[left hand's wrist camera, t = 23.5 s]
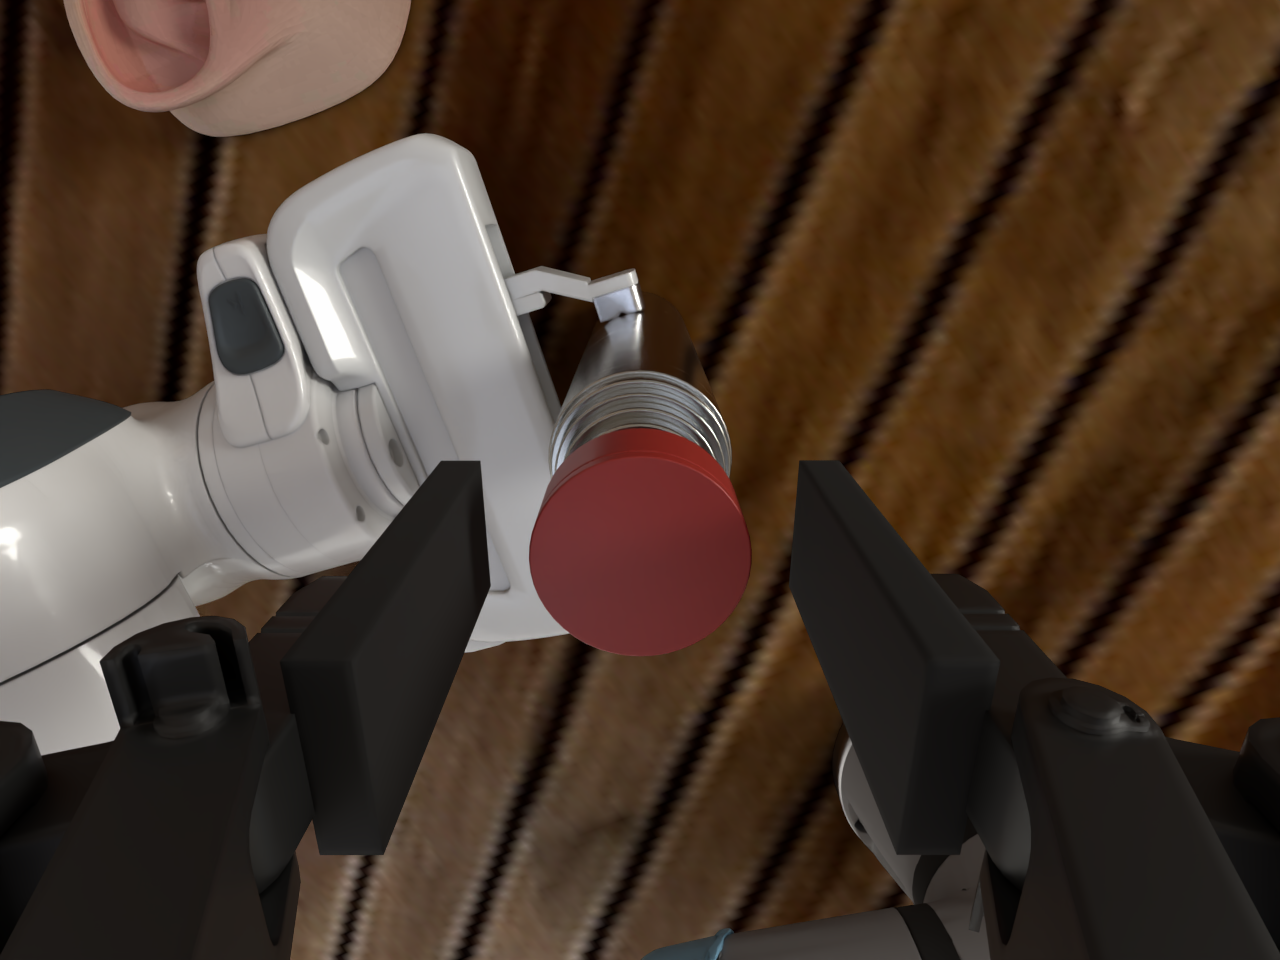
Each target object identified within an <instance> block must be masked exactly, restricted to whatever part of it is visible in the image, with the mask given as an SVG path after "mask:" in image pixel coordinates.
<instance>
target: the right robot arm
mask: <svg viewBox="0 0 1280 960" xmlns="http://www.w3.org/2000/svg"><path fill="white" fill-rule="evenodd" d="M197 280H198V286H199V292H200V297H201V302H202V307H203V312H204V317H205V323H206V328H207V334H208V340H209V345H210V352H211V358H212V365H213V373H214V381H212V382H211V383H209V384H208V385H206V386H205V387H204V388H202V389H201V390H199V391H198V392H197V393H195V394H194V395H192V396H190V397H189V398H186V399H184V400H180V401H175V402H148V403H139V404H135V405H131V406H127V407H124V408H121V407H118V406H116V405H113V404H110V403H107V402H103V401H99V400H96V399H91V398H87V397H82V396H78V395H73V394H69V393H64V392H60V391H55V390H30V391H21V392H15V393H10V394H5V395H0V721H8V722H19V723H22V724H23V725H25V726H26V727H27V728H29V729H30V730H32V732H33V734H34V737H35V740H36V743H37V745H38V748H39V751H40V753H41V755H46V754H51V753H56V752H61V751H66V750H71V749H76V748H81V747H86V746H91V745H96V744H101V743H105V742H110V741H113V740H115V738H116V736H117V734H118V732H119V730H120V726H119V723H118V720H117V716H116V713H115V710H114V707H113V704H112V700H111V697H110V694H109V691H108V688H107V684H106V681H105V678H104V675H103V672H102V668H101V665H100V662H99V661H100V660H101V659H102V658H103V657H104V656H105V655H106V654H107V653H108V652H109V651H110V650H111V649H112V648H113V647H114V646H116V645H118V644H120V643H121V642H123V641H125V640H126V639H128V638H130V637H132V636H133V635H135V634H137V633H139V632H142V631H145V630H147V629H150V628H153V627H155V626H158V625H160V624H163V623H167V622H172V621H176V620H181V619H185V618H190V617H200V615H199V613H198V611H197V609H196V607H195V606H198V605H202V604H206V603H209V602H212V601H214V600H217V599H220V598H222V597H224V596H226V595H228V594H229V593H231V592H233V591H234V590H236V589H237V588H239V587H240V586H242V585H243V584H245V583H248V582H250V581H254V580H259V579H271V580H286V579H293V578H298V577H302V576H306V575H309V574H313V573H317V572H320V571H323V570H327V569H331V568H334V567H338V566H341V565H345V564H348V563H352V562H356V561H360V560H362V558H363V557H364V556H365V555H366V553H367V552H368V551H369V550H370V548H371V547H372V546H373V545H374V543H375V542H376V541H377V540H378V538H379V537H380V536H381V535H382V533H383V532H384V531H385V530H386V528H387V527H388V526H389V525H390V523H391V522H392V521H393V520H394V518H395V517H396V516H397V515H398V514H399V512H400V511H401V510H402V509H403V507H404V506H405V505H406V504H407V502H408V501H409V500H410V499H411V497H412V496H413V495H414V494H415V492H416V491H417V490H418V489H419V487H420V486H421V485H422V484H423V482H424V481H425V480H426V479H427V477H428V476H429V475H430V474H431V472H432V471H433V470H434V469H435V467H436V466H437V465H438V464H439V463H440V461H481V473H482V485H483V497H484V509H485V521H486V534H487V546H488V558H489V570H490V582H491V587H490V589H489V592H488V594H487V597H486V599H485V602H484V604H483V607H482V609H481V612H480V614H479V617H478V619H477V622H476V624H475V627H474V629H473V632H472V634H471V637H470V639H469V642H468V644H467V647H466V649H465V652H474V651H478V650H481V649H485V648H489V647H493V646H497V645H500V644H502V643H504V642H508V641H519V640H529V639H537V638H544V637H551V636H558V635H564V634H569V632H567V631H566V630H565V629H563V628H562V627H561V626H560V625H559V624H558V623H557V622H556V621H555V620H554V619H553V617H552V616H551V615H550V614H549V612H548V611H547V610H546V608H545V607H544V605H543V603H542V602H541V600H540V598H539V597H538V594H537V592H536V589H535V587H534V584H533V581H532V577H531V573H530V565H529V545H530V539H531V534H532V531H533V528H534V525H535V522H536V519H537V516H538V513H539V510H540V507H541V504H542V501H543V498H544V495H545V492H546V489H547V486H548V484H549V482H550V480H551V477H550V470H549V461H548V457H549V444H550V438H551V435H552V431H553V428H554V425H555V423H556V420H557V418H558V415H559V413H560V410H561V408H562V407H561V405H560V402H559V399H558V396H557V393H556V390H555V387H554V384H553V382H552V379H551V376H550V373H549V370H548V367H547V364H546V361H545V359H544V356H543V353H542V350H541V347H540V344H539V341H538V338H537V335H536V333H535V330H534V327H533V324H532V321H531V318H530V315H529V312H531V311H534V310H537V309H541V308H544V307H545V306H546V305H547V303H548V302H549V301H550V300H551V298H552V297H551V294H550V293H554V294H558V295H563V296H567V297H572V298H576V299H580V300H585V301H589V302H593V301H594V304H595V307H596V310H597V313H598V316H599V319H600V322H605V321H608V320H611V319H614V318H616V317H618V316H619V315H620V313H621V312H623V313H626V314H630V313H634V312H637V311H640V310H642V309H644V308H645V303H644V299H643V296H642V292H641V288H640V285H639V281H638V278H637V274H636V271H635V268H633V269H628V270H624V271H621V272H618V273H615V274H612V275H608V276H605V277H602V278H599V279H596V280H592V281H591V279H590V278H589V277H585V276H581V275H577V274H573V273H569V272H565V271H561V270H556V269H552V268H548V267H544V266H540V267H537V268H533V269H530V270H527V271H524V272H521V273H518V274H515V272H514V269H513V266H512V263H511V261H510V258H509V255H508V252H507V249H506V246H505V243H504V240H503V238H502V235H501V232H500V229H499V226H498V223H497V220H496V217H495V215H494V212H493V209H492V206H491V203H490V200H489V197H488V194H487V191H486V189H485V186H484V183H483V180H482V177H481V174H480V171H479V168H478V166H477V163H476V160H475V158H474V156H473V155H472V154H471V152H470V151H468V150H467V149H465V148H463V147H462V146H460V145H458V144H456V143H455V142H453V141H451V140H449V139H447V138H445V137H442V136H439V135H435V134H427V133H425V134H417V135H413V136H410V137H407V138H404V139H401V140H398V141H395V142H392V143H390V144H388V145H385V146H383V147H380V148H378V149H375V150H373V151H371V152H369V153H366V154H364V155H362V156H360V157H357V158H355V159H353V160H351V161H349V162H347V163H345V164H343V165H341V166H339V167H337V168H335V169H333V170H331V171H330V172H328V173H326V174H324V175H322V176H320V177H319V178H317V179H315V180H313V181H312V182H310V183H308V184H307V185H305V186H303V187H302V188H300V189H299V190H297V191H296V192H294V193H293V194H292V195H291V196H289V197H288V198H287V199H286V200H285V201H284V202H283V203H282V204H281V205H280V206H279V208H278V209H277V210H276V212H275V213H274V215H273V217H272V219H271V222H270V224H269V227H268V232H267V234H260V235H253V236H248V237H244V238H239V239H236V240H232V241H229V242H226V243H223V244H220V245H218V246H215V247H213V248H210V249H208V250H207V251H205V252H204V253H202V255H201V256H200V257H199V259H198V263H197Z"/></svg>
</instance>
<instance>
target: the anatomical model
mask: <svg viewBox="0 0 1280 960" xmlns="http://www.w3.org/2000/svg"><path fill="white" fill-rule="evenodd" d="M64 5H65V9H66V13H67V18H68V21H69V24H70V27H71V29H72V32H73V35H74V37H75V40H76V42H77V45H78V47H79V49H80V51H81V53H82V55H83V57H84V59H85V60H86V62H87V64H88V66H89V68H90V69H91V71H92V72H93V74H94V75H95V77H96V78H97V80H98V81H99V82H100V84H101V85H102V86H103V87H104V88H105V90H106V91H107V92H108V93H109V94H110V95H111V96H113V97H114V98H115V99H116V100H118V101H119V102H121V103H122V104H124V105H126V106H128V107H131V108H133V109H136V110H140V111H144V112H165V111H170V112H171V113H172V114H173V115H174V116H175V117H176V118H177V119H178V120H179V121H181V122H182V123H183V124H184V125H186V126H187V127H188V128H190V129H192V130H194V131H196V132H198V133H201V134H205V135H208V136H215V137H228V136H236V135H244V134H250V133H254V132H258V131H262V130H266V129H270V128H274V127H278V126H281V125H284V124H287V123H290V122H293V121H296V120H299V119H302V118H305V117H307V116H310V115H313V114H315V113H318V112H320V111H323V110H325V109H328V108H330V107H332V106H334V105H337V104H339V103H341V102H343V101H345V100H347V99H349V98H350V97H352V96H354V95H356V94H358V93H360V92H361V91H363V90H364V89H365V88H367V87H368V86H370V85H371V84H372V83H373V82H375V81H376V80H377V79H378V78H379V77H380V76H381V75H382V74H383V73H384V72H385V71H386V69H387V68H388V66H389V65H390V63H391V62H392V61H393V59H394V57H395V55H396V53H397V51H398V49H399V47H400V44H401V41H402V38H403V35H404V32H405V28H406V24H407V19H408V15H409V11H410V5H411V0H64Z"/></svg>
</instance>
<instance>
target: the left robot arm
mask: <svg viewBox="0 0 1280 960" xmlns="http://www.w3.org/2000/svg"><path fill="white" fill-rule="evenodd" d="M490 587H491V582H490V570H489V558H488V546H487V534H486V521H485V509H484V497H483V485H482V473H481V461H440V463H439V464H438V465H437V466H436V467H435V469H434V470H433V471H432V472H431V474H430V475H429V476H428V477H427V479H426V480H425V481H424V482H423V484H422V485H421V486H420V487H419V489H418V490H417V491H416V492H415V494H414V495H413V496H412V497H411V499H410V500H409V501H408V502H407V504H406V505H405V506H404V507H403V509H402V510H401V511H400V512H399V514H398V515H397V516H396V517H395V518H394V520H393V521H392V522H391V523H390V525H389V526H388V527H387V528H386V530H385V531H384V532H383V533H382V535H381V536H380V537H379V538H378V540H377V541H376V542H375V543H374V545H373V546H372V547H371V548H370V550H369V551H368V552H367V553H366V555H365V556H364V557H363V558H362V560H361V561H360V562H359V563H358V564H357V566H356V567H355V568H354V569H353V571H352V572H351V573H350V574H349V576H322V577H320V578H319V579H317V580H315V581H314V582H312V583H310V584H308V585H307V586H305V587H303V588H302V589H300V590H298V591H296V592H295V593H293V594H292V596H291V597H290V598H289V599H288V600H287V601H286V602H285V603H284V604H283V605H282V607H281V608H280V609H279V610H278V611H277V612H276V616H272V617H271V619H270V620H269V621H268V622H267V623H266V624H265V625H264V626H263V627H262V628H261V633H257V634H256V635H255V636H254V637H253V638H252V639H251V641H250V642H248V638H247V633H246V629H245V627H244V626H243V625H242V624H240V623H239V622H237V621H236V620H235V619H230V618H225V617H219V616H204V617H190V618H185V619H181V620H176V621H172V622H167V623H163V624H160V625H158V626H155V627H153V628H150V629H147V630H145V631H142V632H139V633H137V634H135V635H133V636H132V637H130V638H128V639H126V640H125V641H123V642H121V643H120V644H118V645H116V646H114V647H113V648H112V649H111V650H110V651H109V652H108V653H107V654H106V655H105V656H104V657H103V658H102V659H101V660H100V661H99V662H100V665H101V668H102V672H103V675H104V678H105V681H106V684H107V688H108V691H109V694H110V697H111V700H112V704H113V707H114V710H115V713H116V716H117V720H118V723H119V726H120V730H119V732H118V734H117V736H116V738H115V740H113V741H110V742H105V743H101V744H96V745H91V746H86V747H81V748H76V749H71V750H66V751H61V752H56V753H51V754H46V755H41V753H40V751H39V748H38V745H37V743H36V740H35V737H34V734H33V732H32V730H30V729H29V728H27V727H26V726H25V725H23V724H22V723H19V722H8V721H0V960H290V955H291V948H292V941H293V933H294V926H295V919H296V912H297V905H298V898H299V890H300V883H301V881H300V873H299V866H298V861H297V857H296V852H295V850H296V848H297V846H298V844H299V843H300V841H301V839H302V837H303V835H304V833H305V831H306V830H307V828H308V826H309V824H310V822H311V820H312V819H313V824H314V829H315V834H316V838H317V843H318V848H319V853H320V855H384V852H385V850H386V847H387V845H388V842H389V840H390V837H391V835H392V832H393V830H394V827H395V825H396V822H397V820H398V817H399V815H400V812H401V810H402V807H403V805H404V802H405V800H406V797H407V795H408V792H409V790H410V787H411V785H412V782H413V780H414V777H415V775H416V772H417V769H418V767H419V764H420V762H421V759H422V757H423V754H424V752H425V749H426V747H427V744H428V742H429V739H430V737H431V734H432V732H433V729H434V727H435V724H436V722H437V719H438V717H439V714H440V712H441V709H442V707H443V704H444V702H445V699H446V697H447V694H448V692H449V689H450V687H451V684H452V682H453V679H454V677H455V674H456V672H457V669H458V667H459V664H460V662H461V659H462V657H463V654H464V652H465V649H466V647H467V644H468V642H469V639H470V637H471V634H472V632H473V629H474V627H475V624H476V622H477V619H478V617H479V614H480V612H481V609H482V607H483V604H484V602H485V599H486V597H487V594H488V592H489V589H490ZM789 587H790V590H791V592H792V595H793V597H794V600H795V602H796V605H797V607H798V610H799V612H800V615H801V617H802V620H803V622H804V625H805V627H806V630H807V632H808V635H809V637H810V640H811V642H812V645H813V647H814V650H815V652H816V655H817V657H818V660H819V662H820V665H821V667H822V670H823V672H824V675H825V677H826V680H827V682H828V685H829V687H830V690H831V692H832V695H833V697H834V700H835V702H836V705H837V707H838V710H839V712H840V715H841V717H842V720H843V724H842V726H841V728H840V730H839V733H838V736H837V739H836V742H835V746H834V750H833V759H832V771H833V778H834V783H835V786H836V790H837V793H838V796H839V799H840V802H841V805H842V808H843V810H844V813H845V815H846V818H847V820H848V822H849V824H850V825H851V827H852V829H853V830H854V832H855V833H856V834H857V836H858V837H859V838H860V839H861V840H862V841H863V843H864V844H865V845H866V846H867V847H868V848H869V849H870V850H871V851H872V852H873V853H874V854H875V856H876V857H877V859H878V860H879V862H880V863H881V864H882V865H883V867H884V868H885V869H886V870H887V872H888V873H889V874H890V875H891V876H892V877H893V879H894V880H895V881H896V882H897V883H898V885H899V886H900V887H901V888H902V889H903V891H904V892H905V893H906V894H907V895H908V897H909V898H910V899H911V900H912V902H913V904H914V905H909V906H903V907H897V908H896V907H895V908H894V907H893V908H887V909H881V910H875V911H868V912H862V913H856V914H850V915H844V916H838V917H832V918H826V919H820V920H813V921H807V922H801V923H795V924H789V925H783V926H777V927H771V928H765V929H759V930H752V931H746V932H740V933H734V932H733V931H732V930H731V929H730V928H726V929H722V930H719V931H718V932H717V934H716V935H715V936H711V937H707V938H703V939H698V940H694V941H689V942H685V943H680V944H676V945H671V946H667V947H663V948H659V949H656V950H654V951H652V952H651V953H649V954H647V955H646V956H644V957H643V958H642V959H641V960H1280V718H1269V719H1260V720H1259V721H1257V722H1256V723H1255V724H1253V725H1252V726H1250V727H1249V729H1248V732H1247V734H1246V737H1245V740H1244V742H1243V745H1242V748H1241V751H1240V752H1236V751H1231V750H1226V749H1221V748H1216V747H1211V746H1206V745H1201V744H1196V743H1191V742H1186V741H1181V740H1176V739H1172V738H1168V737H1165V736H1164V734H1163V733H1162V731H1161V729H1160V727H1159V726H1158V725H1157V724H1156V722H1155V721H1154V720H1153V719H1152V718H1151V716H1150V715H1149V714H1148V713H1147V712H1146V711H1145V710H1143V709H1142V708H1140V707H1139V706H1138V705H1136V704H1135V703H1133V702H1132V701H1130V700H1129V699H1127V698H1126V697H1124V696H1122V695H1120V694H1117V693H1115V692H1113V691H1111V690H1108V689H1106V688H1104V687H1102V686H1099V685H1095V684H1091V683H1087V682H1084V681H1080V680H1076V679H1067V677H1066V676H1065V675H1064V674H1063V673H1062V672H1061V671H1060V670H1059V669H1058V668H1057V667H1056V665H1055V664H1054V663H1053V662H1052V661H1051V660H1050V659H1049V658H1048V657H1047V656H1046V655H1045V654H1044V652H1043V651H1042V650H1041V649H1040V648H1039V647H1038V646H1037V645H1036V644H1035V643H1034V642H1033V640H1032V639H1031V638H1030V637H1029V636H1028V635H1027V634H1026V633H1025V632H1024V631H1023V630H1020V629H1019V625H1018V624H1017V623H1016V622H1015V621H1014V620H1013V619H1012V618H1011V617H1010V615H1009V614H1005V612H1004V609H1003V608H1002V607H1001V606H1000V605H999V603H998V602H997V601H996V600H995V599H994V598H993V597H992V596H991V595H990V594H989V593H988V591H987V590H985V589H983V588H981V587H980V586H978V585H976V584H974V583H973V582H971V581H969V580H968V579H966V578H964V577H962V576H961V575H959V574H930V573H929V572H928V571H927V569H926V568H925V567H924V566H923V565H922V563H921V562H920V561H919V560H918V558H917V557H916V556H915V555H914V553H913V552H912V551H911V550H910V548H909V547H908V546H907V545H906V543H905V542H904V541H903V540H902V538H901V537H900V536H899V535H898V533H897V532H896V531H895V530H894V528H893V527H892V526H891V525H890V523H889V522H888V521H887V520H886V518H885V517H884V516H883V515H882V514H881V512H880V511H879V510H878V509H877V507H876V506H875V505H874V504H873V502H872V501H871V500H870V499H869V497H868V496H867V495H866V494H865V492H864V491H863V490H862V489H861V487H860V486H859V485H858V484H857V482H856V481H855V480H854V479H853V477H852V476H851V475H850V474H849V472H848V471H847V470H846V469H845V468H844V466H843V465H842V464H841V463H840V461H799V473H798V485H797V497H796V509H795V521H794V533H793V546H792V558H791V570H790V582H789Z"/></svg>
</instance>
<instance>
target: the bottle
mask: <svg viewBox="0 0 1280 960" xmlns="http://www.w3.org/2000/svg"><path fill="white" fill-rule="evenodd" d="M642 296H643V299H644V303H645V308H644V309H642V310H640V311H637V312H634V313H630V314H626V313H623V312H621V313H620V315H619V316H618V317H616V318H614V319H611V320H608V321H605V322H600V319H599V317H598V319H597V321H596V324H595V326H594V328H593V331H592V333H591V336H590V338H589V341H588V343H587V346H586V348H585V351H584V353H583V356H582V358H581V361H580V363H579V366H578V368H577V371H576V373H575V376H574V378H573V381H572V383H571V386H570V388H569V391H568V393H567V396H566V398H565V401H564V403H563V405H562V408H561V410H560V413H559V415H558V418H557V420H556V423H555V425H554V428H553V431H552V435H551V438H550V444H549V457H548V461H549V470H550V477H551V478H552V476H553V475H554V473H555V472H556V470H557V469H558V468H559V466H560V465H561V464H562V463H563V462H564V461H565V459H566V458H567V457H568V456H569V455H570V454H572V453H573V452H574V451H575V450H577V449H578V448H579V447H581V446H582V445H584V444H585V443H587V442H589V441H590V440H592V439H595V438H597V437H599V436H601V435H604V434H607V433H611V432H614V431H619V430H624V429H634V428H646V429H657V430H662V431H666V432H670V433H673V434H676V435H679V436H682V437H684V438H686V439H688V440H690V441H692V442H694V443H695V444H697V445H698V446H700V447H701V448H703V449H704V450H705V451H707V452H708V453H709V454H710V455H711V456H712V457H713V458H714V459H715V460H716V461H717V462H718V463H719V465H720V466H721V467H722V468H723V470H724V471H725V473H726V474H727V476H728V477H729V479H730V472H731V464H732V448H731V442H730V437H729V434H728V430H727V427H726V425H725V422H724V420H723V417H722V415H721V412H720V410H719V407H718V405H717V402H716V400H715V397H714V395H713V393H712V390H711V388H710V385H709V383H708V380H707V378H706V375H705V373H704V370H703V368H702V365H701V363H700V360H699V358H698V355H697V353H696V351H695V348H694V346H693V343H692V341H691V338H690V336H689V333H688V331H687V328H686V326H685V323H684V321H683V319H682V317H681V315H680V313H679V312H678V310H677V309H676V308H675V307H674V306H673V305H672V304H671V303H670V302H669V301H667V300H666V299H664V298H662V297H660V296H658V295H656V294H653V293H648V292H642Z"/></svg>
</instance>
